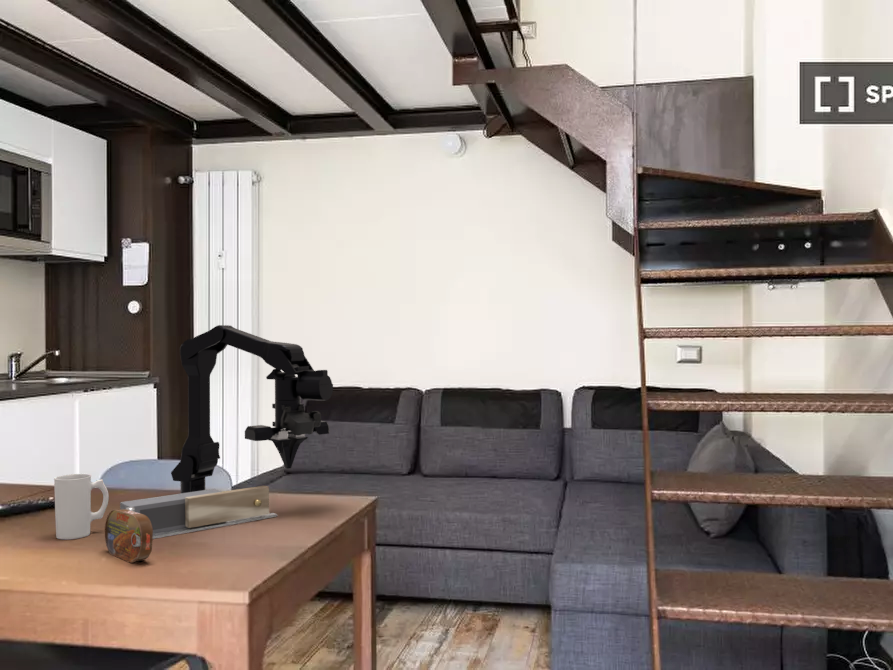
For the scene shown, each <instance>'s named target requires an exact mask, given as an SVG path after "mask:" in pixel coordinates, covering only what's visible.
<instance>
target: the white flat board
mask: <svg viewBox="0 0 893 670" xmlns="http://www.w3.org/2000/svg"><path fill="white" fill-rule="evenodd" d="M126 509H127V510H130V511H134V512H135V507H127V508H126ZM270 518H271V519H272V518H278V514H277V513H274V512H269V514H266V515H260V516H255V517H249V518H243V519H237V520H232V521H226V522H220V523H215V524H209V525H203V526H198V527H192V528H183V529H178V530H172V531H166V532H161V533H155V534H153V540H154V539H160V538H164V537H165V538H166V537H171V536H177V535H182V534H186V533H187V534H188V533H194V532H198V531H205V530H210V529H211V530H212V529H216V528H220V527H227V526H232V525H239V524H244V523H248V522H254V521H259V520H260V521H261V520H266V519H270Z"/></svg>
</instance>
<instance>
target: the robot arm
mask: <svg viewBox="0 0 893 670" xmlns="http://www.w3.org/2000/svg"><path fill="white" fill-rule="evenodd" d="M228 346H231V347H233V348H235V349H238V350H241V351H244V352H247V353H248V354H252V355H254V356H258V357H259V358H260V359H262V360H263V361H264V362H265V364H268V365H269V366H270V367H272V368H273V369H272V371H271V372H270V373H269V374H268V375H266V376H265V377H266V380H274V403H272V404H271V405H272V406H271V407H272V409H274V416H275V417H274V421H272V427H271V426H269V425H263V424H258V425H247V426H246V428H245V430H244V439H245V440H249V441H253V442H261V441H262V442H263V441H269V442H272V443H273V445H274V446H275V448H276V450H277V452H278V454H279V456H280V458H281V461H282V462H283V465H284V467H285V469H291V468H292V466H293V464H294V460H295V458H296V454H297V452H298V450H299V448H300V446H301V444H302V443H303V442H304V441H307V440H308V438H309V437H308V436H305V435H313V433H314V432H315V433H316V434H317V435H318V436H320V435H329V434H330V425H329V423H328V422H327V420H322V414H321V412H320V411H318V410H314V411H313V410H312V411H310V412H306V411H305V405H304V403H301V402H302V401H301V399H302V400H304V401H328V400H330V399H331V397H332V395H333V390H334V384H333V382H332V378H331V377H330V375H328V373H329V372H328V371H329V370H328V369H317V370H314V368H313V366H312V365H311V363H310V362H309V361H308V358H307V357H306V355H305V352H304V350H303V347H302V346H300V345H299V344H297V343H290V342H281V341H273V340H268V339H266V338H263V337H260V336H258V335H255V334H253V333H250V332H246V331H243V330H241V329H238V328H235V327H233V326H232V325H229V324H228V325H227V324H224V325H223V324H221V325H220V324H218V325H216V326H214V327H213V328H211V329H210V330H208V331H204V332H202V333H200V334H199V335H196V336H194V337H193V338H189V339H185V340H184V342H182V343H181V345H180V347H179V356H180V362H181V366H182V367H183V370H184V371H185V373H186V375H187V382H188V384H187V385H188V386H187V390H188V391H187V392H188V393H187V397H188V399H187V402H188V403H187V404H188V405H187V408H188V409H187V410H188V416H187V417H188V418H187V419H188V421H187V422H188V423H187V424H188V426H187V428H188V431H187V432H188V434H187V438H186V439H185V442H184V444H183V445H182V449H181V454H180V455H181V456H180V461H179V462H178V463H177V465H176V466H175V467H174V468H173V469H172V471H171V472H170V474H171V478H172V481H174V482H180V485H179V486H180V494H181V493H188V492H195V491H202V490H207V489H206V478H207V477H213V475H214V470H215V467H216V466H217V465H218V462H219V460H220V459H221V456H220V442H219V441H214V439H213V438H212V436H211V375H212V372H213V370H214V368H215V366H216V363H217V357H218V354H219V353H221V352H223V351H224V350H225V349H226V348H227V347H228Z"/></svg>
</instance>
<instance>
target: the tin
mask: <svg viewBox="0 0 893 670" xmlns="http://www.w3.org/2000/svg"><path fill="white" fill-rule="evenodd" d="M153 540H154V539H153V528H152V524H151V521H150V520H149V518H148V517H147V516H146V515H144V514H140V513H137V512H134V511H130V510H127V509H122V510H120V509H112V510H111V511H110V512H108V514H107V517H106V520H105V524H104V541H105V545H106V548H107V550H108V553H109V554H110V555H111V556H114V557H116V558H118V559H120V560H123V561H125V562H127V563H132V564H133V563H135V562H140V561H145V560H147V559H148V558H149V557H150V555H151V553H152V551H153V542H154V541H153Z"/></svg>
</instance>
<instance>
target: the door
mask: <svg viewBox="0 0 893 670" xmlns="http://www.w3.org/2000/svg"><path fill="white" fill-rule="evenodd" d="M269 513H270V486H267V485H258V486H252V487H245V488H238V489H231V490H225V491H222V492H217V493H211V494H204V495H197V496H191V497H185V526H186V527H188V528H192V527H198V526H203V525H209V524H215V523H220V522H226V521H232V520H237V519H243V518H249V517H255V516H260V515H266V514H269Z"/></svg>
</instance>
